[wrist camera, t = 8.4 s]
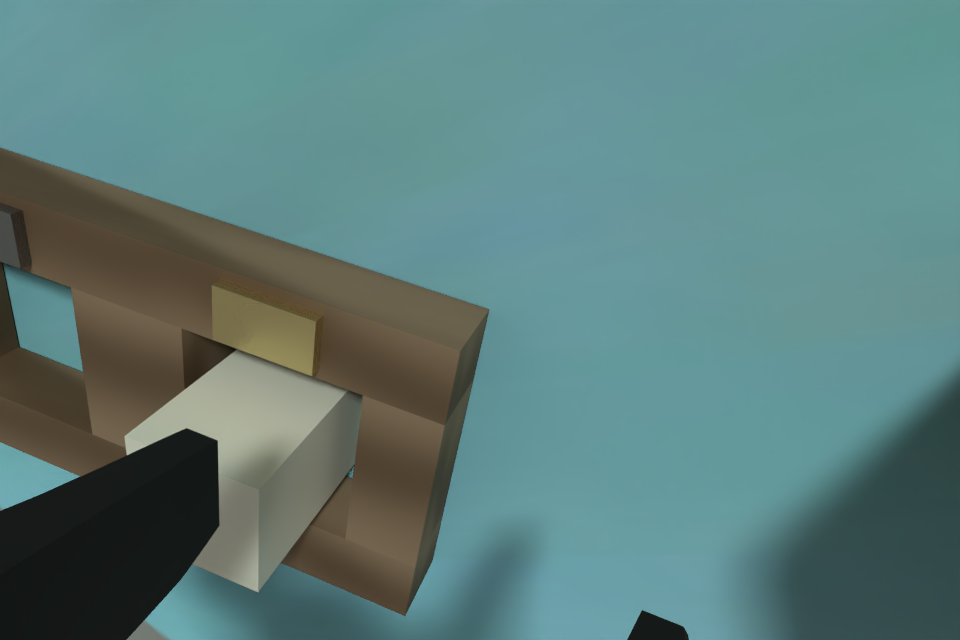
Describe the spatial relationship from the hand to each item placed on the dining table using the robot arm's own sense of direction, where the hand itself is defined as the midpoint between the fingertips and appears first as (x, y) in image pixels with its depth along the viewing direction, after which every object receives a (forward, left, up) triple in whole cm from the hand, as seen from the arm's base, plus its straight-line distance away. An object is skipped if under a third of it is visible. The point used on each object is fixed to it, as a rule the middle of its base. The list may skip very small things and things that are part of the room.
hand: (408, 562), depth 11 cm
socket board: (-6, +12, -9) cm, 16 cm away
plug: (-6, +7, -10) cm, 13 cm away
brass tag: (-2, +7, -7) cm, 10 cm away
